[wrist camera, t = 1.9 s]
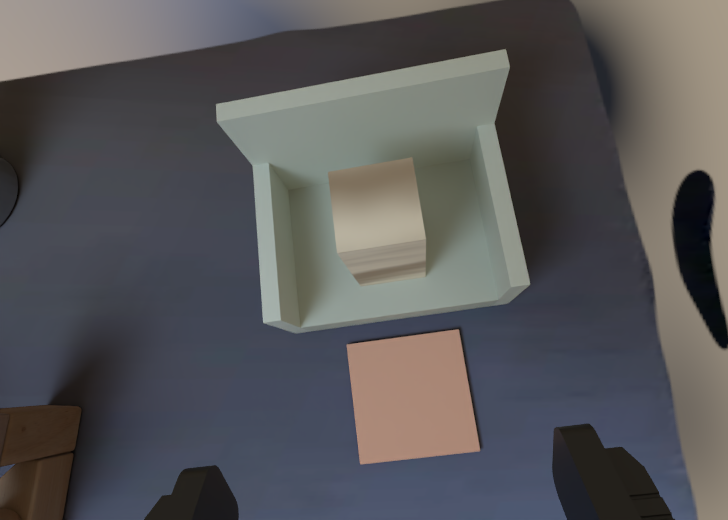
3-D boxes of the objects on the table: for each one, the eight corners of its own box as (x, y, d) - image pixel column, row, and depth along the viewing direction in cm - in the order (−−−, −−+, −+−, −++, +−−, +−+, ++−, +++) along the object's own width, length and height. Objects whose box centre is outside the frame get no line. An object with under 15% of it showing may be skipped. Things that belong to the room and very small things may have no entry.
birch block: (425, 276, 35) (426, 239, 25) (360, 286, 35) (337, 253, 26) (415, 215, 36) (412, 157, 26) (353, 225, 36) (327, 171, 27)
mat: (479, 450, 34) (480, 451, 34) (360, 463, 35) (360, 464, 35) (458, 329, 36) (458, 329, 36) (347, 344, 37) (346, 344, 37)
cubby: (508, 303, 36) (557, 261, 23) (295, 333, 38) (225, 310, 25) (477, 159, 40) (505, 49, 26) (283, 192, 41) (216, 104, 28)
